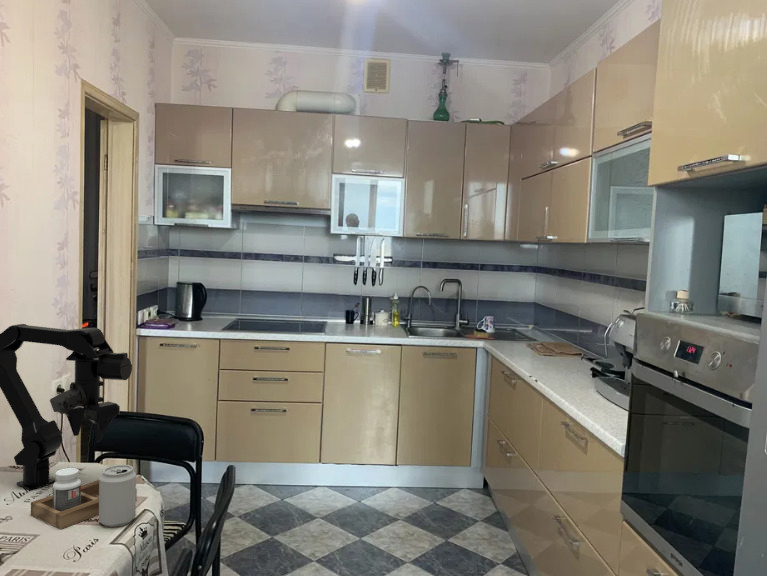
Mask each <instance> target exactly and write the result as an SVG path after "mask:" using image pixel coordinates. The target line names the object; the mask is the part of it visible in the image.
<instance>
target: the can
mask: <svg viewBox="0 0 767 576" xmlns="http://www.w3.org/2000/svg"><path fill="white" fill-rule="evenodd" d="M98 480H99V495H98V498H99V515H98V522H99V523H101V524H102V525H103V526H104V527H107V528H118V527H122V526H125V525H127V524H129V523H130V522H131V521H132V520H133V519H134V518H135V517H136V507H137V505H136V504H137V493H136V488H137V473H136V472H135V471H134V467H133V465H129V464H115V465H110V466H107V467H105V468H104V469H103V470H102V474H101V475H100V476H99V479H98Z"/></svg>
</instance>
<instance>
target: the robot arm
mask: <svg viewBox="0 0 767 576" xmlns="http://www.w3.org/2000/svg"><path fill="white" fill-rule="evenodd" d="M24 342H26V343H37V344H43V345H44V344H45V345H54V346H60V347H63V348H64V349H66V350H68V351H70V352H71V351H72V352H71V354H69V355H68V356H67V357H66V361H71V362H72V361H73V362H74V381H73V382H72V381H71V382H70V384H69V389H68V390H66V391H63V392H61V393H59V394H57V395H55V396H53V397H51V398H50V399H49V402H50V406H51V408H52V410H53V412H54V413H59V414H60V415H63V414H64V415H65V416H66V418H67V420H68V423H69V426H70V428H71V432H72V434H73V435H72V436H74V437H76V436H79V435H80V432H81V430H82V429H81V428H82V424H83V420H84V418H85V413H86V410H87V412H88V413H87V414H88V415H89V417H88V419H87V420H89V421H90V422H92V424H93V425H92V427H93V436H94V442H95V444H99V443H101V442H102V439H103V438H104V435H105V433H106V431H107V430H108V427H109V426H110V424H111V423H112V422H113V419H114V418H116V417H117V415H120V414H121V413H120V412H121V406H120V405H119V404H118V403H116V402H112V401H105V402H104V396H101V387H102V386H103V387H104V386H105V385H104V384H105V383H104V382H105V381H102V380H112V381H113V380H115V381H127V380H128V379H130V377H131V375H132V371H133V364H132V363H131V359H130V358H129V357H128V356H129V355H128V352H118V353H117V352H114V350H113V349H112V347H111V345H110V344H109V343H108V341H107V340H106V338H105V335H104V333H103V332H102V330H101V329H100V328H99V327H84V328H77V329H75V328H74V329H63V328H54V327H47V326H46V327H45V326H37V325H30V324H29V325H28V324H25V323H20V324H13V325H9V326H8V327H7V328H6V329H4V330H3V331H2V332H1V333H0V389H1V390H0V391H2V394H3V396H4V397H5V398H6V401H7V403H8V404H9V406H10V408H11V410H12V412H13V414H14V416H15V418H16V420H17V421H18V423H19V425H20V426H21V438H20V439H21V440H20V441H21V444H22V447H23V448H22V449H21V450H20V451H18V453H17V454H15V455H14V457H13V459H14V463H15V466H22V480H20V481H17V482H16V485H17V486H19V487H21V488H24V489H26V490H29V491H31V490H36V489H38V488H41V487H44V486H48V485H51V484H54V483H55V482H56V479H53V478H50V458H51V457H53V456H56V453H57V451H58V449H60V447H61V445H62V442H63V436H62V434H63V432H62V431H61V430H60V428H59V427H58V423H57V422H56V420H54V419H53V420H50V421H47V420H46V419H45V418H43V416H42V414H41V412H40V411H39V409H38V407H37V405H36V403H35V401H34V399H33V397H32V396H31V394H30V392H29V390H28V388H27V387H26V385H25V383H24V381H23V379H22V377H21V375H20V374H19V372H18V370H17V366H18V364H17V363H18V357H17V354H16V352H17V351H18V350H19V349H20V348H21V347H22V346H23V345H24V344H23V343H24ZM101 379H102V380H101Z"/></svg>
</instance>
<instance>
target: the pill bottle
mask: <svg viewBox="0 0 767 576" xmlns="http://www.w3.org/2000/svg"><path fill="white" fill-rule="evenodd" d="M79 475H80V470H79V468H75V467H67V468H62V469H59V470H58V471H56V472H55V482H54V483H53V485H52V495H53V509H55V510H58V511H60V512H61V511H64V510H67V509H70V508H73V507H75V506H78V505H81V486H82V481H81V479H80V478H78V477H79Z"/></svg>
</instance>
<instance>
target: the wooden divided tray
mask: <svg viewBox="0 0 767 576" xmlns="http://www.w3.org/2000/svg"><path fill="white" fill-rule="evenodd" d="M137 491H138V489H137V487H136V494H137ZM97 496H98V497H97ZM30 516H31V517H33V518H36V519H37V520H38V519H39V520H40V521H42V522H45V523H46V524H48V525H51V526H53V527H54V528H57V529H59V530H63V529H66V528H68V527H71V526H73V525H74V526H75V525H76V524H79V523H81V522H84V521H86V520H90V519H92V518H95V517H97V516H99V479H97V480H95V481H92V482H91V481H90V482H88V483H85V484H81V505H78V506H75V507H73V508H70V509H67V510H64V511H61V512H60V511H58V510H55V509H53V494H52V495H48V496H46V497H42V498H39V499H37V500H33V501H30Z"/></svg>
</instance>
